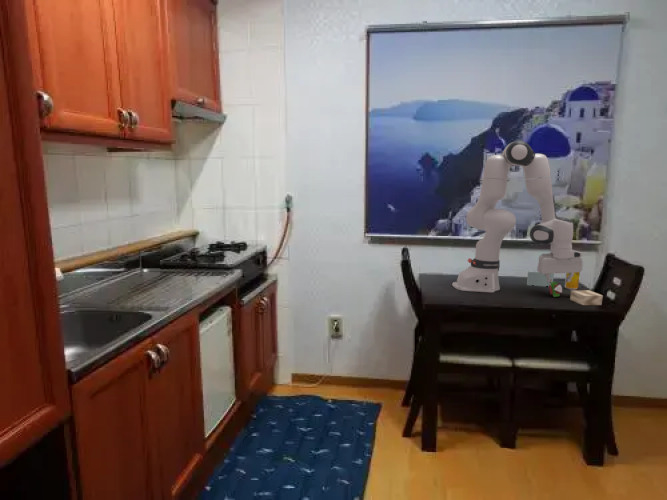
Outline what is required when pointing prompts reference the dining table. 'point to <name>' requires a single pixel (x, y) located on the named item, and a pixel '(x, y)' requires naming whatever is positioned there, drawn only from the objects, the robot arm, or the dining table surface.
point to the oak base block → (586, 297)
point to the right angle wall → (538, 279)
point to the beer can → (572, 281)
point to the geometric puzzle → (555, 289)
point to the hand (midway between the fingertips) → (558, 282)
